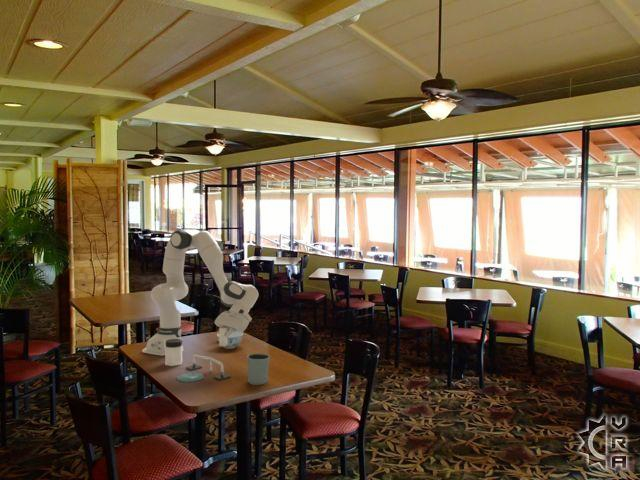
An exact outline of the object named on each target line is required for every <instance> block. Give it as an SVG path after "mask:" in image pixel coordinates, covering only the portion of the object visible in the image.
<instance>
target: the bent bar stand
mask: <svg viewBox="0 0 640 480" xmlns="http://www.w3.org/2000/svg"><path fill="white" fill-rule="evenodd" d="M197 358H198V359H201V360H202V359H203V360H207V361H208V360H209V373H212V372H213V363H215V364H217V365H219V366H220V374H218V375H214V376H213V379H215V380H217V381H220V382H221V381H223V380H227V379H231V375H230V374H228V373H227V374H225V373H224V362H221V361H220V360H217V359H215V358H214V357H210V356H204V355H199V354H192V365H188V366H186V367H185V370H189V371H196V370H200V369H202V368H203V366H202V365H199V364H196V359H197Z"/></svg>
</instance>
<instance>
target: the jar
mask: <svg viewBox="0 0 640 480" xmlns="http://www.w3.org/2000/svg"><path fill="white" fill-rule="evenodd" d="M165 345H166V347H165V355H164V362H165V363H164V364H165V366H170V367H175V366H180V365H182V363H183V352H182V346H183V340H182V338H181V339H169V340H166V343H165Z"/></svg>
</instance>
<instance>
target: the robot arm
mask: <svg viewBox="0 0 640 480" xmlns="http://www.w3.org/2000/svg"><path fill="white" fill-rule="evenodd" d="M169 238H170V239H169V240H168V241H167V244H166V247H165V251H164V257H163V264H162V272H163V274H165V276H166V282H164V283H160V284H157V285H156V286H154V287H152V289H151V291H150V298H151V300H152V301H153V303H154V304H156V306H157V309H158V312H159V326H158V327H157V328H155V330H156V331H157V332H156V333H155V334H154V335H152V337H150V338H149V339H148V340H147V343H146V347H144V348H143V349H142V351H141V353H145V354H149V355H156V356H165V347H166V345H165V343H166V340H169V339H181V340H182V324H181V318H182V317H181V312H180V310H179V309H178V308H177V306H176V301H180V300H182V299H184V298H185V297H186V296H187V295H188V294H189V286H188V284H187V283H186V281H185V277H184V276H185V275H184V269H185V261H186V253H187V251H188V250H194V249H196V250H197V252H198V254H199V256H200V258H201V259H202V261H203V263H204V264H205V265H206V267H207V269H208V271H209V273H210V275H211V276H212V280H214V284H216V287H217V289H218V291H219V299H220V302H221V304H223V306H225V307H228V308H230V309H229V310H225V311H223V312H221V313H220V314H219V315H218V316H217V317H216V318H215V320H214V324H215V325H216V327H218V328H220V327H228V329H230V330H229V331H228V332H226V333H225V334H224V335H225V336H226V337H229V335H230V334H232V333H233V332H234V331H238V332H242V333H244V331H246V329H247V328H248V326H249V323H250V322H252V319H253V318H252V317H251V316H250V314H249V312H250V310H251V309H252V308H253V307H254V305H255V303H256V301H257V300H258V298H259V296H260V295H259V291H258V289H257V288H256V287H255V286H254V285H253V284H244V283H243V284H242V283H240V282H238V281H236V280H235V281H234V280H230V281H228V278H227V277H226V274H225V271H224V265H223V264H224V253H223V252H222V249H221V247H220V245H219V243H218V242H217V240H216V239H215V237H214V236H213V235H212V234H211V232H209V231H208V230H201V229H198V228H186V229H177V230H174V231H173V232H172V233H171V234H170V237H169ZM217 334H219V330H218V331H217ZM183 352H184V346H183V345H182V353H183Z"/></svg>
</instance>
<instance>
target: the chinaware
mask: <svg viewBox="0 0 640 480" xmlns="http://www.w3.org/2000/svg"><path fill="white" fill-rule="evenodd" d="M216 336H217V340H218V341H219V334H218V333H217V334H216ZM243 337H244V332H238V331H234V332H233V333H232V334H230V335H229V337H228V338H227V346H223V348H224V349H228V350H229V349H235V348H236V347H237V346H238V345H239V344H240V343H241V342H242V339H243Z"/></svg>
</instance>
